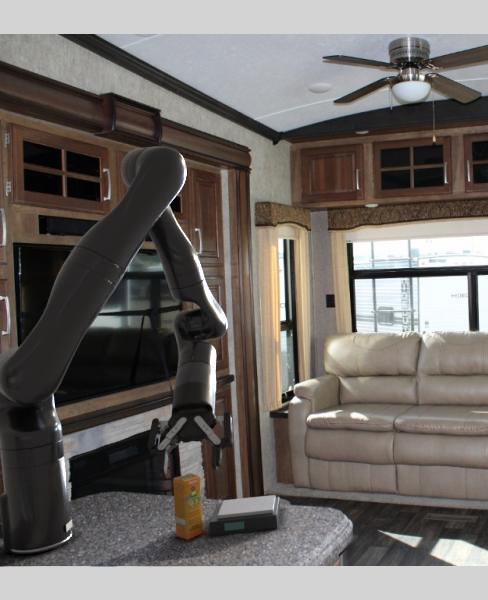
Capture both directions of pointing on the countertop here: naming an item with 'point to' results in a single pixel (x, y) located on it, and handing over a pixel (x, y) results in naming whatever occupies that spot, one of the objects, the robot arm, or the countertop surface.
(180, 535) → the supplement box
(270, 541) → the countertop surface
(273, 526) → the scale
